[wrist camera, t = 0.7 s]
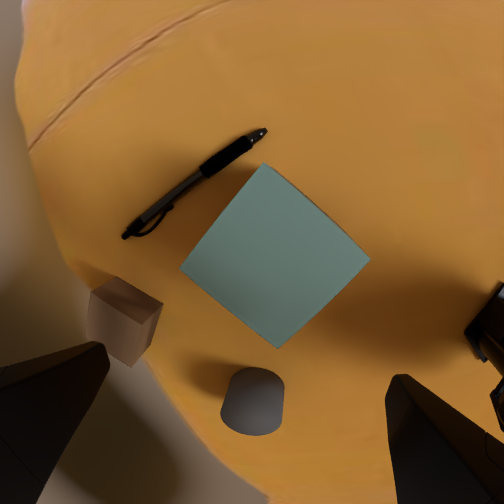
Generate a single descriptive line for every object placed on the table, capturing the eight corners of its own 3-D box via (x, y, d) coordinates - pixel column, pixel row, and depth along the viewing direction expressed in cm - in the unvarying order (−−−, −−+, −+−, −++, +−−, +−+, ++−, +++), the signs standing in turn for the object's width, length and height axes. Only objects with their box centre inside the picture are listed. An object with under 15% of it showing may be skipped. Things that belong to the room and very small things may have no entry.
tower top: (352, 239, 15) (370, 259, 11) (281, 311, 16) (277, 348, 13) (271, 167, 14) (263, 162, 11) (204, 247, 16) (178, 268, 12)
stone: (296, 387, 22) (294, 419, 19) (259, 411, 24) (254, 441, 20) (253, 357, 22) (246, 388, 18) (219, 385, 24) (208, 415, 20)
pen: (134, 244, 22) (129, 250, 21) (121, 229, 21) (116, 235, 20) (274, 141, 18) (276, 143, 17) (261, 122, 17) (262, 123, 16)
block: (164, 303, 22) (141, 325, 18) (151, 343, 24) (131, 367, 20) (117, 275, 22) (90, 292, 18) (109, 317, 24) (85, 336, 20)
